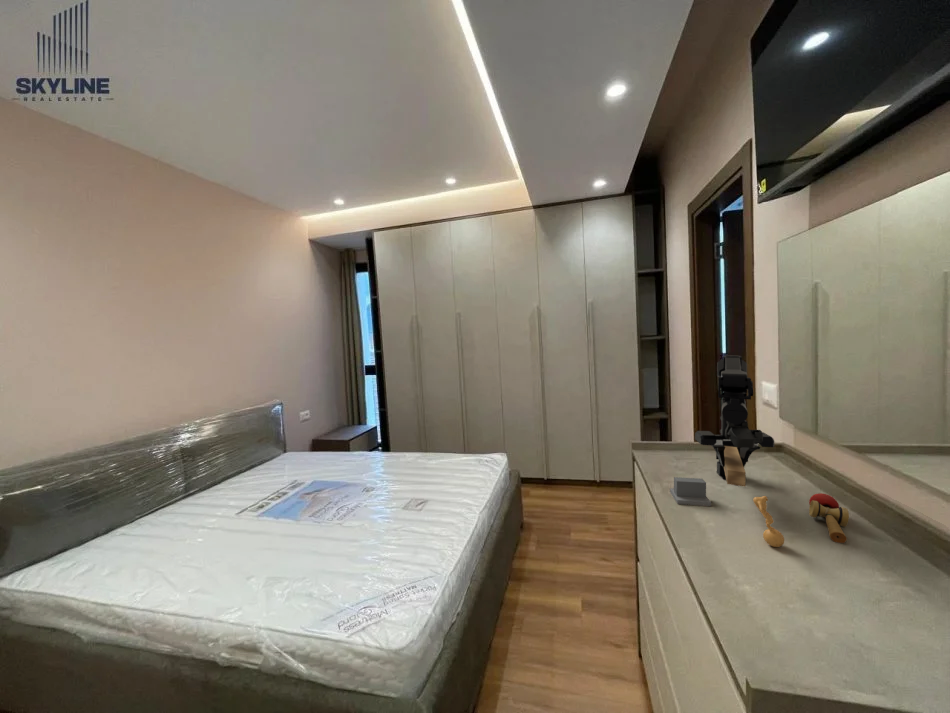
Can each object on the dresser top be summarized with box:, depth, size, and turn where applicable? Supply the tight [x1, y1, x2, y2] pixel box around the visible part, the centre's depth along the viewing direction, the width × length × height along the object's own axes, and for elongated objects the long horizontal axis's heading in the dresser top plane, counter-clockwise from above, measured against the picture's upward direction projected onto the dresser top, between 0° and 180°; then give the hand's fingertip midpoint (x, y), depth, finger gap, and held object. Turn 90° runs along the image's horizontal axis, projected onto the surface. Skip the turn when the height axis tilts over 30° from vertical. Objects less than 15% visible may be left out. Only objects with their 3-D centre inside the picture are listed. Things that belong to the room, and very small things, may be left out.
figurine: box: [752, 495, 785, 548], centre depth 88 cm, size 8×6×12 cm
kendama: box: [808, 492, 850, 544], centre depth 95 cm, size 8×6×18 cm
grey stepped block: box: [669, 476, 712, 507], centre depth 112 cm, size 9×8×6 cm
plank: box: [724, 446, 747, 488], centre depth 109 cm, size 4×22×4 cm, turn 149°
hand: (732, 466), depth 109 cm, fingers closed on plank, 5 cm apart
